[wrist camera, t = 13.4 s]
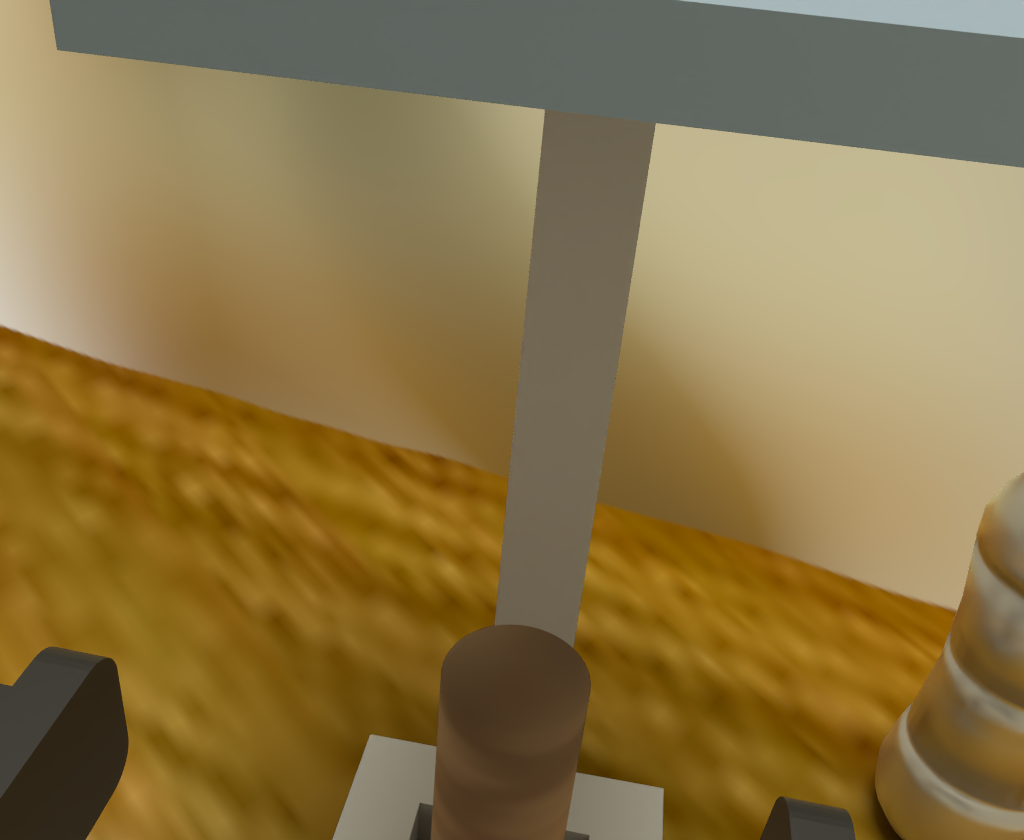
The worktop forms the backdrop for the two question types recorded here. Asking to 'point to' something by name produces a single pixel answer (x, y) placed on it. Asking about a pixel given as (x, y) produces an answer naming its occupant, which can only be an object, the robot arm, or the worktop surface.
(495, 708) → the peg
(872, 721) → the worktop surface
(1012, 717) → the plastic bottle
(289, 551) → the worktop surface
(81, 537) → the worktop surface
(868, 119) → the socket stand
